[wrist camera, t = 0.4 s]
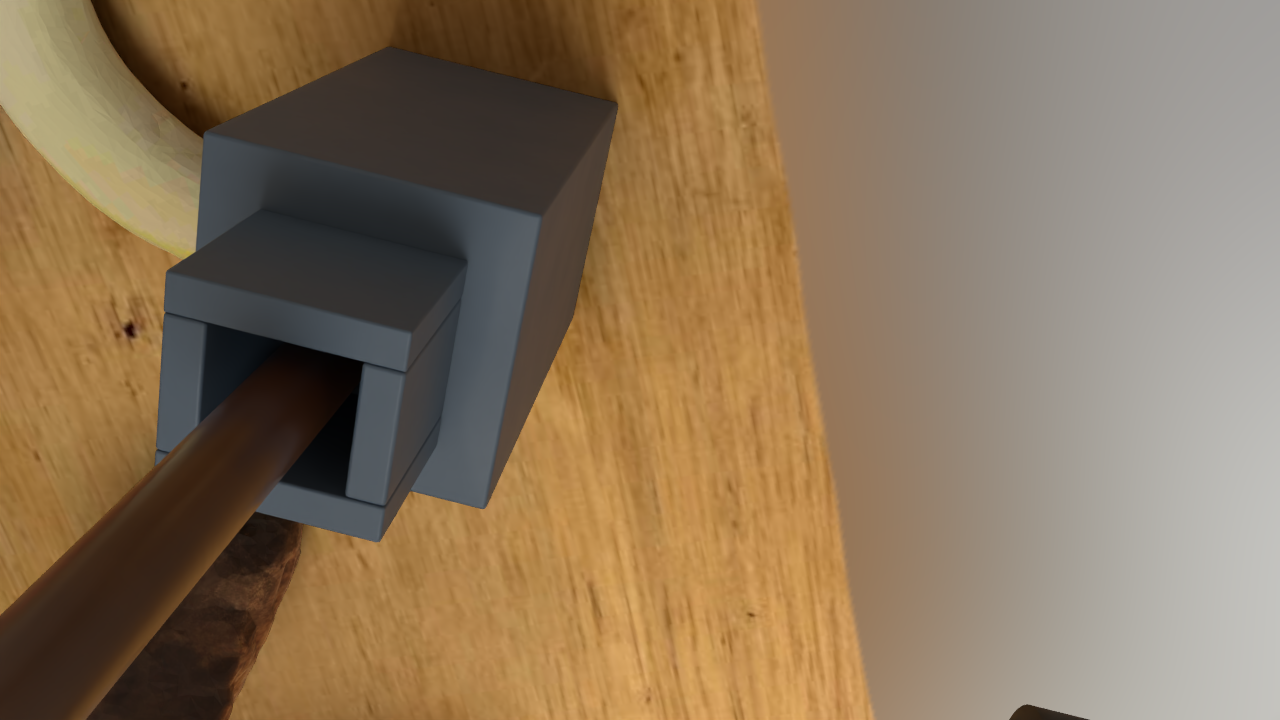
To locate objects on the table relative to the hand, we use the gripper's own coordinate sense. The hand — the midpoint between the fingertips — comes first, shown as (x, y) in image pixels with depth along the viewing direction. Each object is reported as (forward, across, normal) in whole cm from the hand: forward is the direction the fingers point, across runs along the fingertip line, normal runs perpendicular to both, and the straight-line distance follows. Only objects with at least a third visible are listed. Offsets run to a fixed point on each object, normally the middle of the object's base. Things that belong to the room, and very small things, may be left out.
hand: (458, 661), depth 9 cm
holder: (+27, +6, +5) cm, 28 cm away
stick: (+15, +6, +5) cm, 17 cm away
